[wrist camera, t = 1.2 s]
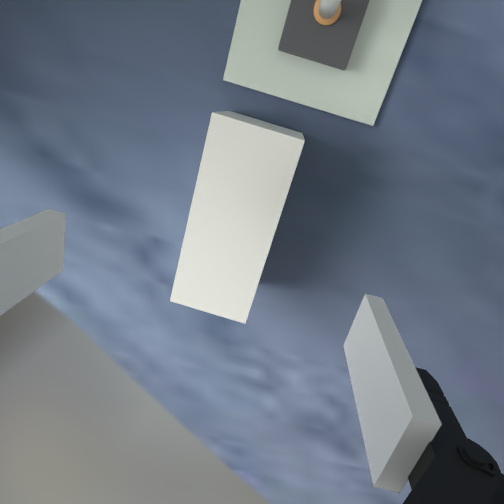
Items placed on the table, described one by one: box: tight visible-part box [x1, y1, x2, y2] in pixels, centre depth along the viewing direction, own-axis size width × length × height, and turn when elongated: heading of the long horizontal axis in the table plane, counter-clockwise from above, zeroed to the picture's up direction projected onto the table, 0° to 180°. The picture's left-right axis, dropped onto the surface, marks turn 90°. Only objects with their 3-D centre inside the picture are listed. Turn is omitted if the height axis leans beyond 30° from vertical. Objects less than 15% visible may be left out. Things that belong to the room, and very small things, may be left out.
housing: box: [170, 111, 305, 323], centre depth 29 cm, size 14×6×7 cm, turn 164°
